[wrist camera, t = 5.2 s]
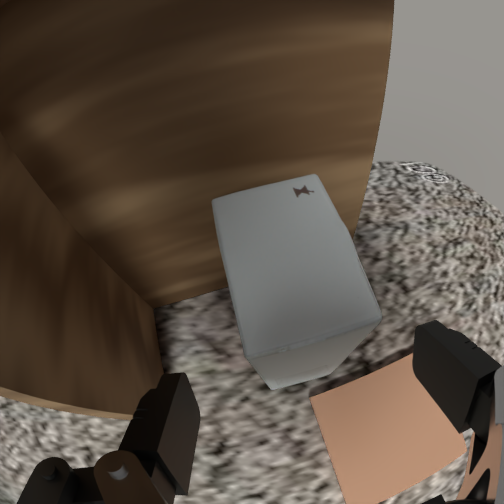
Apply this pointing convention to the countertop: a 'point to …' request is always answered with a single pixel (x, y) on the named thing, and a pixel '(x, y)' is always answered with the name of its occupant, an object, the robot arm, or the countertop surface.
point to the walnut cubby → (158, 165)
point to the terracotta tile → (384, 433)
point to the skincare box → (293, 280)
